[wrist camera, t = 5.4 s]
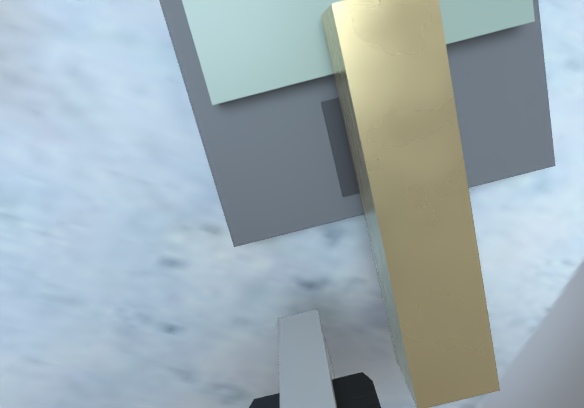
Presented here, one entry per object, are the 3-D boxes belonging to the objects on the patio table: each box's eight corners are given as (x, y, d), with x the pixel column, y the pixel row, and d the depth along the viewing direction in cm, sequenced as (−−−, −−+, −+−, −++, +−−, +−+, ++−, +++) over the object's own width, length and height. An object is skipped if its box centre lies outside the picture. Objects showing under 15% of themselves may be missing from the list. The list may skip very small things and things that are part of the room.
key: (387, 340, 22) (418, 409, 17) (316, 20, 18) (331, 4, 14) (452, 324, 22) (499, 390, 17) (394, -1, 18) (435, -24, 14)
